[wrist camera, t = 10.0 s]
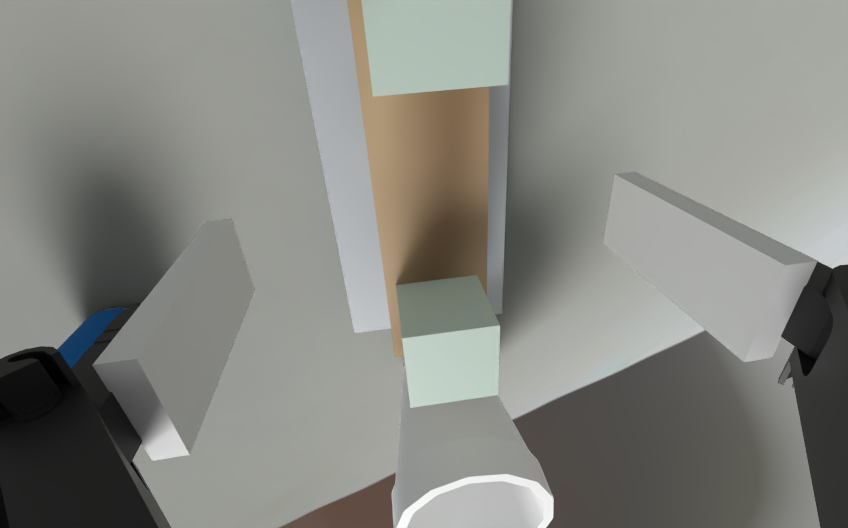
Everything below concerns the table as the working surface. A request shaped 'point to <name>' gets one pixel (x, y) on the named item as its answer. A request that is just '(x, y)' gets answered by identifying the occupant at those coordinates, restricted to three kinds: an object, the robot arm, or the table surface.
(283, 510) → the table surface
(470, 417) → the foam cup
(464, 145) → the tan wooden bar
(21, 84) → the table surface
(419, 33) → the block
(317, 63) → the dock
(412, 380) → the block
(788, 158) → the table surface
